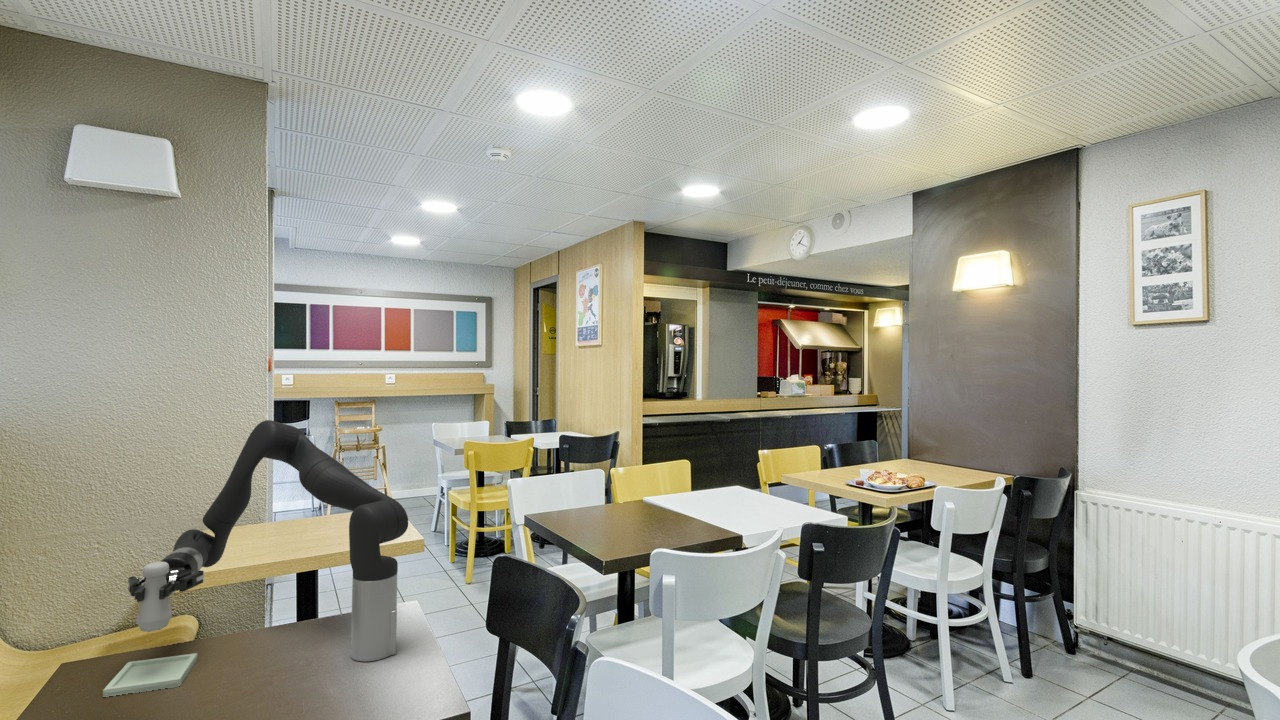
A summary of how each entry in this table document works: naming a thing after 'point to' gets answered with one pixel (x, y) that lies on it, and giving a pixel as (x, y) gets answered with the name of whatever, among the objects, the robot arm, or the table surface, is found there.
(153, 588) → the salt shaker
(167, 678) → the tray
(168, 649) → the table surface
